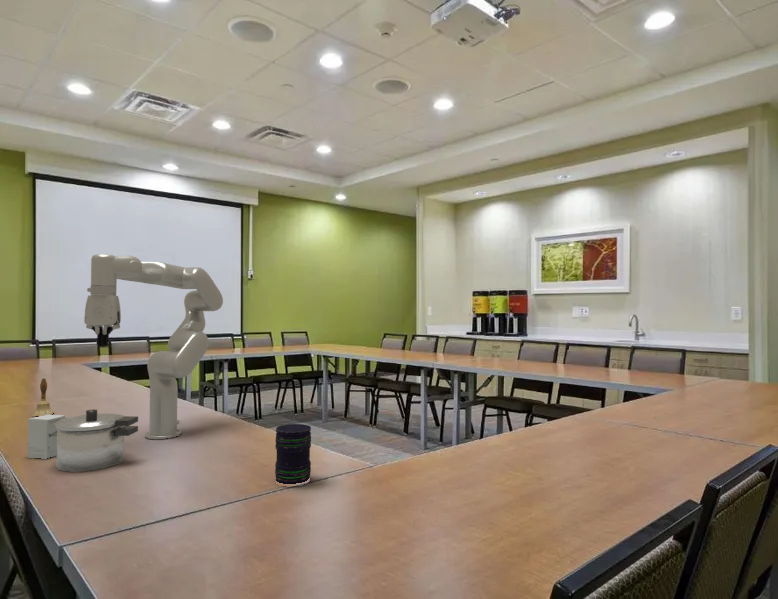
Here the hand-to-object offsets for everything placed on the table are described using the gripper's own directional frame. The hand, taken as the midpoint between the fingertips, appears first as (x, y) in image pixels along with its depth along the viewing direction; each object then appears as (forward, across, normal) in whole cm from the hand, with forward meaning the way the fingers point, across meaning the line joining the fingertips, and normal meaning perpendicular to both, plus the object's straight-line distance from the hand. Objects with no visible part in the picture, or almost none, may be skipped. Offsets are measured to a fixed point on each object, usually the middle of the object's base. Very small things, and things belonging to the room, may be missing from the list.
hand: (102, 346), depth 173 cm
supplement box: (+35, -15, -5) cm, 39 cm away
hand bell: (+35, -57, +56) cm, 87 cm away
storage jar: (+35, +69, -27) cm, 82 cm away
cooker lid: (+23, +5, -12) cm, 27 cm away
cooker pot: (+35, +6, -11) cm, 37 cm away
